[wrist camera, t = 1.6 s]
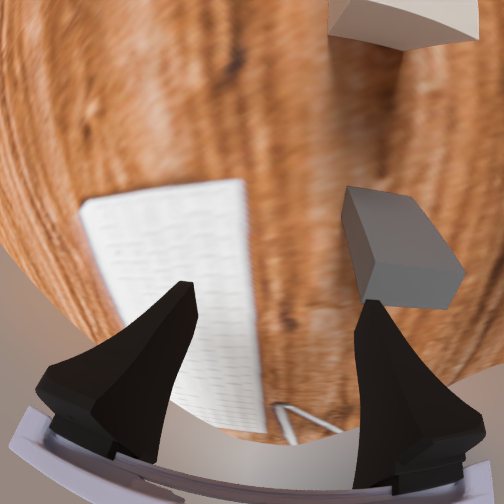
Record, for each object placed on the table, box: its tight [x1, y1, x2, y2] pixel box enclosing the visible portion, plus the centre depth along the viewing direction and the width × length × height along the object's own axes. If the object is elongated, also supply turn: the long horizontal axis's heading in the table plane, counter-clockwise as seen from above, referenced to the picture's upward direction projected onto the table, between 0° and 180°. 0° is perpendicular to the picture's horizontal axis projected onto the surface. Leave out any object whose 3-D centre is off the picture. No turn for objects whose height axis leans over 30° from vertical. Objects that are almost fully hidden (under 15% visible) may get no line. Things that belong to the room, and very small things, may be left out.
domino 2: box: [341, 186, 466, 310], centre depth 16 cm, size 2×5×9 cm, turn 88°
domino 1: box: [327, 0, 479, 51], centre depth 9 cm, size 2×5×9 cm, turn 88°
